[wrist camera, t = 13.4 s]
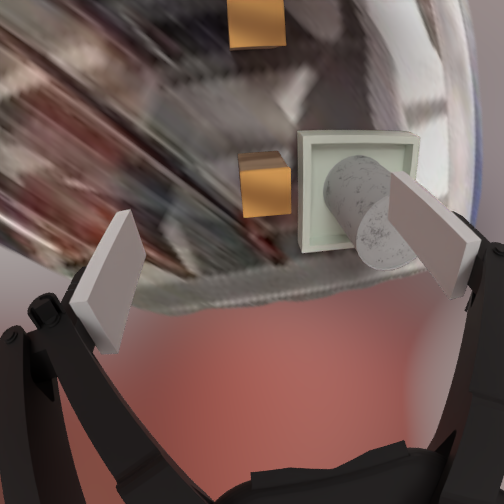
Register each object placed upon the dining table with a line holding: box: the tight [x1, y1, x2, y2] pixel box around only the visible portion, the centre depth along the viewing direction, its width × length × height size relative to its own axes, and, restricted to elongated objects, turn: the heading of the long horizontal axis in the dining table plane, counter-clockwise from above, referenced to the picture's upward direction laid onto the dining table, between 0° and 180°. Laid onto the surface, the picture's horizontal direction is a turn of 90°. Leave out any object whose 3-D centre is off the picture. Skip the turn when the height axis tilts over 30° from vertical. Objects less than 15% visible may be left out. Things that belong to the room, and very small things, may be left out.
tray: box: [297, 130, 420, 253], centre depth 41 cm, size 16×16×3 cm
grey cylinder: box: [323, 155, 417, 271], centre depth 37 cm, size 10×10×12 cm
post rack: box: [227, 0, 291, 218], centre depth 32 cm, size 23×5×8 cm, turn 3°
